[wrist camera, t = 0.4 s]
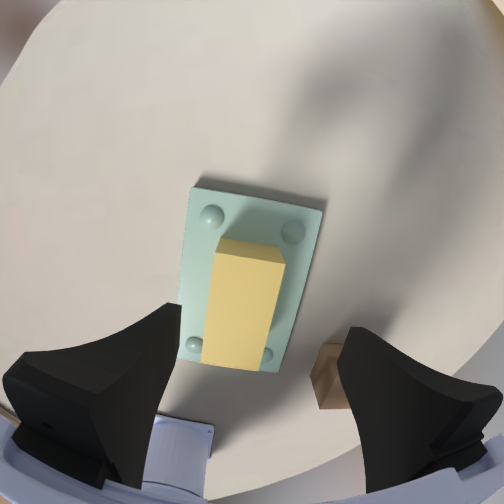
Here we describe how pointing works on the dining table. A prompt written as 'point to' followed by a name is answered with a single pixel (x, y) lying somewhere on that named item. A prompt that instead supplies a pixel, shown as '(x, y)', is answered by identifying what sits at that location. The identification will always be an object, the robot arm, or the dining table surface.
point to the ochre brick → (241, 303)
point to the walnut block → (328, 378)
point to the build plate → (249, 230)
